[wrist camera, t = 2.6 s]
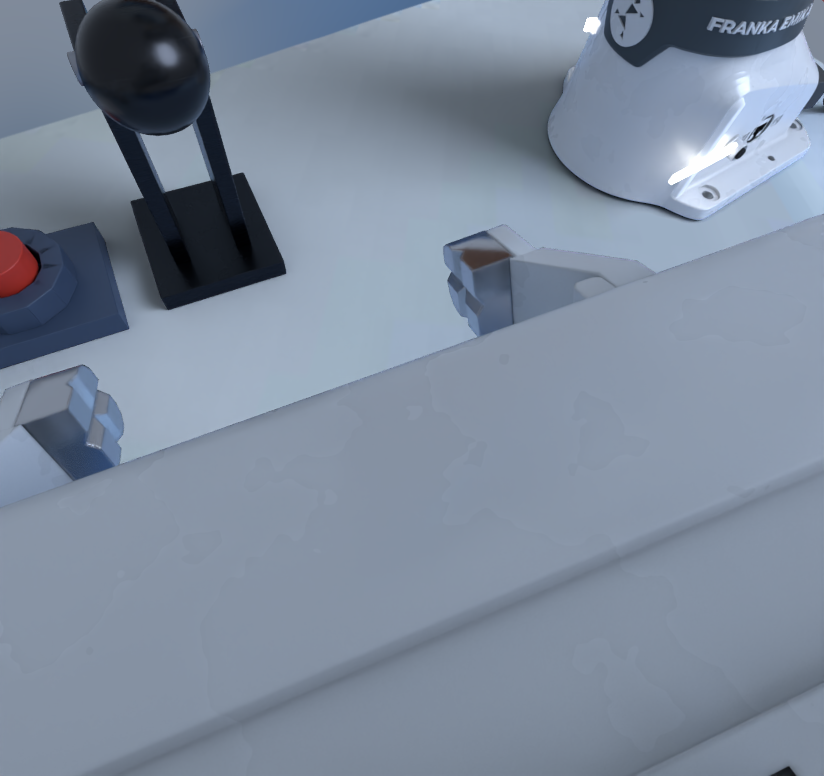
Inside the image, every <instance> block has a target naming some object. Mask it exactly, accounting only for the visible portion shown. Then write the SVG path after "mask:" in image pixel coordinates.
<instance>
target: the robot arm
mask: <svg viewBox="0 0 824 776" xmlns="http://www.w3.org/2000/svg"><path fill="white" fill-rule="evenodd" d="M823 1H824V0H823ZM813 2H814V0H605V2H604V4H603V6H602V8H601V11H600V13H599V15H598V17H595V18H587V21H586V24H585V27H584V31H585V32H590V31H591V33H590V35H589V37H588V39H587V42H586V44H585V46H584V48H583V51H582V53H581V55H580V58H579V60H578V62H577V64H576V66H573V67H571V68H570V69H569V71H568V73H567V75H566V78H565V80H564V84H563V94H562V96H561V97H560V99H559V101H558V102H557V104H556V106H555V107H554V109H553V111H552V112H551V114H550V117H549V120H548V136H549V140H550V143H551V146H552V148H553V150H554V151H555V153H556V155H557V156H558V158H559V159H560V160H561V161H562V163H563V164H564V165H565V166H566V167H567V168H568V169H569V170H570V171H571V172H573V173H574V174H575V175H576V176H578V177H579V178H580V179H582V180H583V181H585V182H586V183H588V184H590V185H592V186H593V187H595V188H597V189H599V190H601V191H604V192H606V193H608V194H611V195H614V196H617V197H620V198H624V199H627V200H632V201H637V202H643V203H649V204H654V205H658V206H662V207H664V208H666V209H668V210H670V211H673V212H675V213H677V214H679V215H682V216H684V217H687V218H690V219H694V220H702V219H705V218H707V217H708V216H710V215H711V214H713V213H715V212H716V211H718V210H719V209H721V208H723V207H724V206H726V205H727V204H729V203H731V202H732V201H734V200H735V199H737V198H738V197H740V196H742V195H743V194H745V193H746V192H748V191H750V190H751V189H753V188H754V187H756V186H758V185H759V184H761V183H762V182H764V181H765V180H767V179H769V178H770V177H772V176H773V175H775V174H777V173H778V172H780V171H781V170H783V169H785V168H786V167H788V166H789V165H791V164H792V163H794V162H796V161H797V160H799V159H800V158H802V157H803V156H804V155H805V153H806V152H807V150H808V149H809V147H810V145H811V143H810V139H809V136H808V134H807V131H806V130H805V128H804V126H803V124H802V123H801V121H800V120H799V119H798V117H797V116H798V115H799V113H800V112H801V111H802V109H807V108H812V107H813V106H814V105H815V104H816V102H817V101H818V100H819V99H820V97H821V96H822V95H823V93H824V70H823V69H822V68H821V67H820V66H819V65H818V64H817V63H816V62H815V60H814V58H813V56H812V54H811V51H810V49H809V47H808V44H807V42H806V39H805V36H804V34H803V31H802V29H803V26H804V24H805V21H806V19H807V16H808V15H809V12H810V10H811V7H812V5H813ZM823 105H824V99H823ZM443 255H444V262H445V264H446V266H447V267H448V268H449V269H450V270H451V274H450V276H449V278H448V280H447V281H448V287H449V292H450V295H451V298H452V302H453V304H454V306H455V308H456V310H457V311H458V313H459V314H460V315H461V316H462V317H466V318H468V325H469V327H470V328H471V329H472V331H473V332H474V333H475V334H476V336H477V338H474V339H471V340H468V341H465V342H463V343H460V344H457V345H454V346H451V347H449V348H446V349H443V350H440V351H437V352H435V353H432V354H429V355H426V356H423V357H421V358H418V359H415V360H412V361H409V362H407V363H404V364H401V365H398V366H395V367H393V368H390V369H387V370H384V371H381V372H379V373H376V374H373V375H370V376H367V377H365V378H362V379H359V380H356V381H353V382H351V383H348V384H345V385H342V386H339V387H337V388H334V389H331V390H328V391H325V392H323V393H320V394H317V395H314V396H311V397H309V398H306V399H303V400H300V401H297V402H294V403H292V404H289V405H286V406H283V407H280V408H278V409H275V410H272V411H269V412H266V413H264V414H261V415H258V416H255V417H252V418H250V419H247V420H244V421H241V422H238V423H235V424H233V425H230V426H227V427H224V428H221V429H219V430H216V431H213V432H210V433H207V434H205V435H202V436H199V437H196V438H193V439H191V440H188V441H185V442H182V443H179V444H176V445H174V446H171V447H168V448H165V449H162V450H160V451H157V452H154V453H151V454H148V455H146V456H143V457H140V458H137V459H134V460H131V461H129V462H126V463H123V464H120V456H121V449H122V448H121V447H120V446H119V444H118V443H117V441H118V440H119V439H120V438H121V436H122V435H123V432H124V423H123V419H122V414H121V412H120V410H119V408H118V406H117V404H116V402H115V401H114V400H113V398H112V397H111V396H110V395H109V394H107V393H104V392H102V391H99V390H97V387H98V380H99V379H98V378H97V377H96V376H95V374H94V373H93V372H92V371H91V369H90V368H89V367H87V366H85V365H83V364H82V365H79V366H76V367H72V368H69V369H66V370H63V371H60V372H56V373H53V374H50V375H47V376H44V377H40V378H37V379H35V380H29V381H26V382H24V383H21V384H18V385H15V386H13V387H10V388H8V389H5V391H4V394H3V396H2V398H1V401H0V776H824V214H821V215H818V216H815V217H812V218H809V219H806V220H803V221H801V222H798V223H795V224H792V225H790V226H787V227H784V228H782V229H779V230H776V231H773V232H771V233H768V234H765V235H762V236H760V237H757V238H754V239H751V240H749V241H746V242H743V243H740V244H737V245H734V246H732V247H729V248H726V249H723V250H720V251H718V252H715V253H712V254H709V255H706V256H703V257H701V258H698V259H695V260H692V261H689V262H687V263H684V264H681V265H678V266H675V267H673V268H670V269H667V270H664V271H661V272H659V273H655V272H654V271H652V270H651V269H649V268H648V267H646V266H645V265H643V264H642V263H640V262H639V261H637V260H630V259H623V258H616V257H609V256H601V255H594V254H587V253H580V252H573V251H565V250H558V249H551V248H544V247H542V248H539V249H536V248H535V247H533V246H532V245H531V244H530V243H528V242H527V241H526V240H525V239H523V238H522V237H521V236H520V235H518V234H517V233H516V232H515V231H513V230H512V229H511V228H510V227H508V226H507V225H503V224H502V225H499V226H497V227H494V228H492V229H489V230H486V231H482V232H479V233H477V234H474V235H471V236H468V237H465V238H463V239H460V240H457V241H454V242H451V243H449V244H446V245H445V246H443ZM119 464H120V465H119Z"/></svg>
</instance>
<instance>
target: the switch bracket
mask: <svg viewBox="0 0 824 776" xmlns="http://www.w3.org/2000/svg"><path fill="white" fill-rule="evenodd" d="M155 1H157V2H159V3H161V4H164V5H165V6H167V7H168V8H170V9H171V10H173V11H174V12H175V13H176V14H178V15H179V16H180V17H181V18H182V19H183V20H184V21H185V19H184V16H183V14H182V12H181V10H180V8H179V6H178V4H177V2H176V0H155ZM59 4H60V7H61V11H62V14H63V17H64V20H65V24H66V27H67V30H68V33H69V37H70V40H71V43H72V46H73V49H74V51H72V52H68V53H67V56H68V59H69V62H70V64H71V67H72V69H73V71H74V73H75V75H76V77H77V79H78V81H79V83H80V84H81V86H84V84H83V83H82V80H81V77H80V75H79V72H78V68H77V64H76V57H75V42H76V35H77V32H78V28H79V26H80V24H81V22H82V20H83V18H84V16H85V15H86V14H87V10H86V8H85V6H84V3H83V1H82V0H69V1H63V2H60V3H59ZM185 22H186V21H185ZM192 30H193V32H194V33H195V35H196V36H197V38H198V39H199V41H200V43H201V45H202V42H201V39H200V37H199V34H198V31H197V30H196V29H192ZM202 47H203V45H202ZM203 49H204V48H203ZM204 52H205V51H204ZM102 112H103V111H102ZM103 114H104V116H105V118H106V121H107V123H108V125H109V127H110V129H111V131H112V133H113V135H114V137H115V139H116V141H117V143H118V145H119V147H120V150H121V152H122V154H123V156H124V158H125V160H126V162H127V164H128V166H129V168H130V170H131V172H132V174H133V176H134V179H135V181H136V183H137V185H138V187H139V189H140V191H141V193H142V195H143V197H144V198H141V199H137V200H133V201H131V202H130V203H131V206H132V209H133V212H134V215H135V218H136V221H137V225H138V228H139V231H140V234H141V237H142V240H143V243H144V246H145V250H146V253H147V256H148V259H149V262H150V265H151V268H152V272H153V275H154V278H155V281H156V284H157V287H158V290H159V293H160V297H161V299H162V301H163V303H164V304H165V306H166V308H167V309H168V310H170V309H173V308H176V307H180V306H183V305H186V304H189V303H193V302H196V301H199V300H202V299H206V298H209V297H212V296H215V295H219V294H222V293H225V292H228V291H232V290H235V289H238V288H241V287H244V286H248V285H251V284H254V283H257V282H261V281H264V280H267V279H270V278H274V277H277V276H280V275H283V274H286V269H285V264H284V260H283V258H282V256H281V254H280V252H279V249H278V247H277V245H276V243H275V241H274V239H273V236H272V234H271V232H270V230H269V228H268V225H267V223H266V221H265V219H264V217H263V214H262V212H261V210H260V208H259V206H258V203H257V201H256V199H255V197H254V195H253V192H252V190H251V188H250V186H249V184H248V181H247V179H246V177H245V175H244V173H239V174H235V175H232V174H231V170H230V166H229V163H228V159H227V156H226V152H225V149H224V145H223V142H222V138H221V135H220V131H219V128H218V124H217V121H216V117H215V114H214V110H213V106H212V103H211V99H210V96H208V100H207V103H206V105H205V108H204V109H203V111H202V113H201V114H200V116H199V117H198V118H197V119H196V120H195V121H194V122H193V123H192V124H193V127H194V131H195V134H196V137H197V140H198V143H199V146H200V149H201V152H202V155H203V158H204V161H205V164H206V167H207V170H208V173H209V176H210V179H211V181H208V182H204V183H200V184H196V185H192V186H188V187H184V188H180V189H176V190H172V191H169V192H165V191H164V188H163V186H162V184H161V181H160V179H159V177H158V174H157V172H156V170H155V167H154V165H153V163H152V161H151V158H150V156H149V154H148V151H147V149H146V147H145V144H144V142H143V140H142V137H141V135H140V133H138V132H135V131H132V130H130V129H128V128H126V127H124V126H122V125H120V124H118V123H117V122H115V121H114V120H112V119H111V118H110V117H109V116H107V115H106V114H105V113H104V112H103Z"/></svg>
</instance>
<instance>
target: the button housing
mask: <svg viewBox="0 0 824 776" xmlns="http://www.w3.org/2000/svg"><path fill="white" fill-rule="evenodd" d="M0 231H6V232H9V233H11V234H14V235H15V236H17V237H18V238H19V239H20V240H21V242H22V243H23V244H24V245H25V246H26V248H27V249H28V250H29V251H30V253H31V254H32V255H33V256H34V258H35V259H36V260H37V263H38V274H37V276H36V278H35V280H34V281H33V282H32V284H30V285H29V286H27V287H26V288H25V289H23V290H22V291H21V292H19V293H18V294H15V295H11V296H8V297H4V298H0V369H2V368H5V367H8V366H11V365H15V364H18V363H21V362H24V361H27V360H31V359H34V358H37V357H40V356H44V355H47V354H50V353H53V352H56V351H60V350H63V349H66V348H69V347H72V346H76V345H79V344H82V343H85V342H88V341H92V340H95V339H98V338H101V337H105V336H108V335H111V334H114V333H117V332H121V331H124V330H127V329H129V326H128V323H127V319H126V315H125V312H124V308H123V305H122V301H121V298H120V294H119V290H118V287H117V283H116V280H115V276H114V273H113V269H112V266H111V262H110V258H109V255H108V251H107V248H106V244H105V241H104V238H103V237H102V235H101V234H100V232H99V230H98V229H97V227H96V226H95V224H94V223H93V222H91V223H87V224H83V225H80V226H76V227H72V228H68V229H64V230H60V231H56V232H53V233H49V234H44V233H43V232H41V231H39V230H31V229H22V228H13V227H11V228H7V229H3V230H0Z"/></svg>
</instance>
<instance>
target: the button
mask: <svg viewBox="0 0 824 776" xmlns="http://www.w3.org/2000/svg"><path fill="white" fill-rule="evenodd" d="M37 274H38V263H37V260H36V259H35V258H34V256H33V255H32V254H31V253H30V251H29V250H28V249H27V248H26V246H25V245H24V244H23V243H22V242H21V240H20V239H19V238H18V237H17V236H15V235H14V234H11V233H9V232H6V231H0V298H4V297H8V296H11V295H15V294H18V293H19V292H21V291H22V290H23V289H25V288H26V287H27V286H29V285H30V284H32V282H33V281H34V280H35V278H36V276H37Z"/></svg>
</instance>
